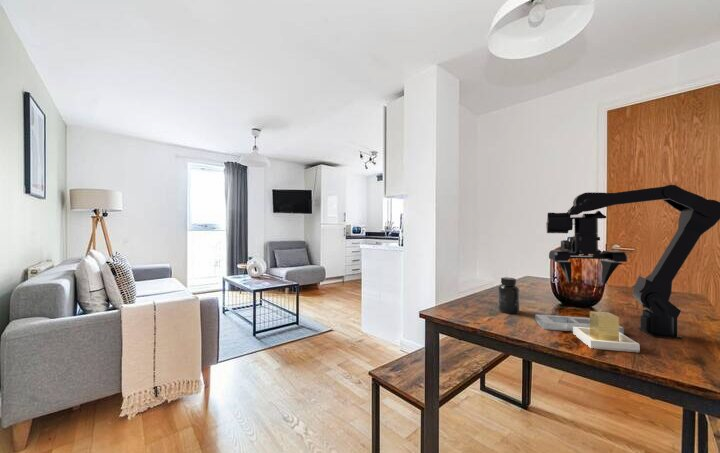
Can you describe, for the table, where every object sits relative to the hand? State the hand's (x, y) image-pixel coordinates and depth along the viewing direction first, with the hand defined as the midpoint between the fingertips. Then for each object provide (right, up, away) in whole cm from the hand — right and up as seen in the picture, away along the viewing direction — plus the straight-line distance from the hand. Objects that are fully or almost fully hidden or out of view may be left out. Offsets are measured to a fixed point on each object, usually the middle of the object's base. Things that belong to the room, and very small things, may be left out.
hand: (586, 283), depth 90 cm
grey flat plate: (-4, -13, -2) cm, 14 cm away
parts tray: (-5, -13, -13) cm, 19 cm away
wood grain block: (-5, -13, -13) cm, 19 cm away
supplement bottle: (-16, -13, +15) cm, 26 cm away
